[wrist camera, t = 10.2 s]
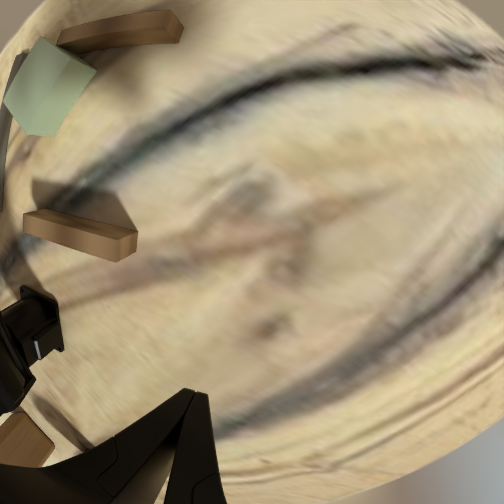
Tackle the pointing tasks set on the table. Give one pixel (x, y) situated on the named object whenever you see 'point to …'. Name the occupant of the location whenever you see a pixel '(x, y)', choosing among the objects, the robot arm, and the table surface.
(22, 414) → the wooden block
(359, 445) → the table surface
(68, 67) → the sage block
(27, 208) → the table surface
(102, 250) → the set of wooden bars
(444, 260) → the table surface
